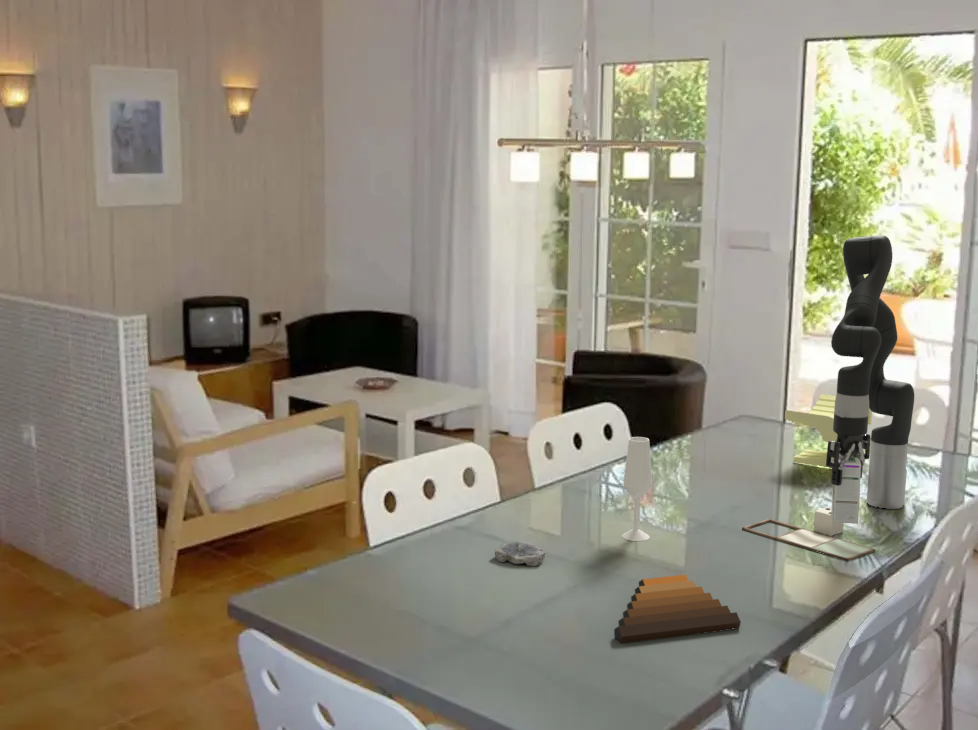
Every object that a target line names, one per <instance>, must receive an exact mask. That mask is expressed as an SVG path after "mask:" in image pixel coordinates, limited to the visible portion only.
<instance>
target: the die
mask: <svg viewBox="0 0 978 730" xmlns="http://www.w3.org/2000/svg"><path fill="white" fill-rule="evenodd" d="M831 511H832V507H827V506H826V507H825V506H824V507H822V508H820V509H817V510H814V516H813V517H814V518H813V519H814V520H813V531H814V532H818V533H821V534H825V535H828V536H832V537H833V536H835V535H837V534H840V533H843V531H844V523H839V522H833V519H832V516H831Z"/></svg>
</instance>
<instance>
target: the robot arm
mask: <svg viewBox="0 0 978 730" xmlns="http://www.w3.org/2000/svg"><path fill="white" fill-rule="evenodd" d="M842 258H843V263H844V267H845V272H846V277H847V279H848V283H849V287H850V291H851V292H850V293H849V295H848V297H847V300H846V304H845V309H844V315H843V317H842V318H841V320H840V321H839V323H838V324H837V326H836V327H835V329H834V331H833V333H832V336H831V342H830V343H831V345H830V346H831V348H832V351H833V352H834V353H835V354H836V355H837V356H841V357H850V358H851V357H852V358H862V361H861V362H860V363H858V364H855V365H847V366H843V367H840V369H839V370H838V372H837V384H836V395H835V396H836V399H835V407H834V422H833V431H834V432H835V433H837V435H838V436H837V440H836V441H835V442H834V441H829V442H827V450H826V452H827V458H826V466H827V467H831V468H832V470H831V478H830V479H831V482H830V483H831V485H832V486H833V485H837V486H839V485H841V483H842V470H841V469H842V468H843V465H844V463H845V462H847V461H848V459H849V457H851V456H852V457H858V458H859V460H860V462H861V476H860V480H861V479H862V478H863V466H864V464H865V463H866V460H868V461H869V462H868V464H869V465H868V475H867V476H868V477H867V491H866V501H865V502H866V504H867V503H868V504H869V506H870V505H871V506H870V507H873V506H874V507H873V508H877V507H879V508H878V509H882V508H886V509H885V510H897V509H902V508H903V506H904V504H905V497H906V496H905V495H906V483H907V474H908V473H907V471H908V470H907V462H908V461H907V460H908V450H909V449H908V448H909V447H908V446H909V437H910V433H911V428H912V418H913V412H914V404H915V390H914V387H913V386H912V384H910V383H908V382H905V381H898V380H892V379H886V377H885V373H884V366H885V363H886V361H887V360H888V358H889V356H890V355H891V353H892V352H893V350H894V348H895V347H896V344H897V341H898V331H897V330H898V329H897V324H896V318H895V315H894V312H893V310H892V309H891V308H890V306H889V305H888V304H887V303H886V302H885V301H884V300H882V298H881V294H882V292H883V290H884V288H885V284H886V282H887V280H888V276H889V274H890V270H891V268H892V265H893V247H892V243H891V240H890V238H889V237H888V236H887V235H881V234H880V235H868V236H867V235H866V236H857V237H851V238H847V239H846V240H845V241H844V243H843V246H842ZM865 275H866V277H865ZM869 408H870V410H871V411H872V413H873V414H878V415H883V416H887V417H892V419H891V423H890V424H888V425H883V426H877V427H875V428H873V429H872V430H871V433H870V434H868V427H869V426H868V425H869V424H868V415H869ZM839 454H840V455H841V456H840V455H839ZM831 457H833V460H832V462H831ZM839 460H840V463H839ZM838 463H839V464H838ZM868 504H867V505H868Z"/></svg>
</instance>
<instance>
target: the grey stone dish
mask: <svg viewBox="0 0 978 730" xmlns="http://www.w3.org/2000/svg"><path fill="white" fill-rule="evenodd" d="M545 555H546V551H544V550H543V548H540V547H538V546H536V545H535V544H533V543H530V542H525V541H515V542H510V543H508V542H507V543H505V544H504V543H503V544H500V546H499V547H497V548H496V549H494V558H495V559H496V560H497V561H498V562H501V563H504V562H507V561H508V562H510V563H512V564H515V565H517V564H526V565H527V566H531V567H538V566H541V565H542V564H543V561H544V559H545Z"/></svg>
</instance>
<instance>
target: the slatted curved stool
mask: <svg viewBox="0 0 978 730" xmlns="http://www.w3.org/2000/svg"><path fill="white" fill-rule="evenodd" d="M835 399H836V395H833V394H825V393H820V396H819V398H818V399H817V401H816V403H815V405H814V406H813V407H812V408H811V410H810V411H809V412H803V411H802V412H801V411H794V410H787V409H785V412H784V420H785V421H788V422H791V423H794V424H795V425H801V426H806V427H809V428H813V429H816V430H817V431H818V433H819V434H820V435H821V439H822V442H825V443H828V442H829V441H834V442H835V441H836V440H837V436H838V435H837V433H835V432H834V431H833V422H834V407H835ZM872 414H873V412H872V411H871V410H870V408H869V415H868V425H872V416H873V415H872ZM839 455H840V454H839ZM840 456H841V455H840ZM826 458H827V451H822V450H814V449H813V450H812V449H808V448H807V449H805V450H804V451H802V452H800V453H798V454H797V455H794V457H793V461H792V463H793V462H797V463H805V464H812V465H819V466H824V467H827V466H826ZM832 460H833V457H831V462H832ZM829 468H831V467H829Z"/></svg>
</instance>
